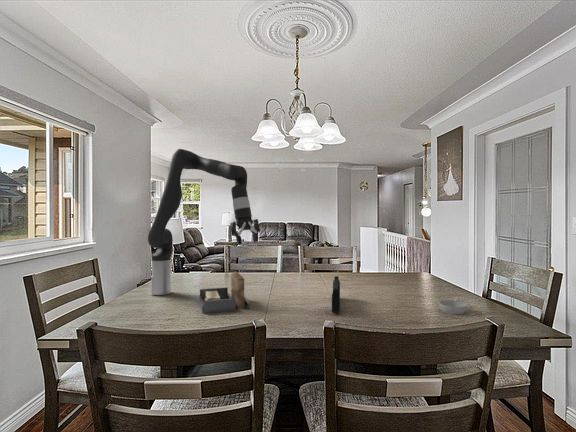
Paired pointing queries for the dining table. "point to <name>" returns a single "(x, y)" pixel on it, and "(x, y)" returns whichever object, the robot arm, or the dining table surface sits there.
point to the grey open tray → (219, 301)
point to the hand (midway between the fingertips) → (247, 243)
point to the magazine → (336, 296)
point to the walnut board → (237, 289)
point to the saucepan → (453, 306)
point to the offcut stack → (212, 295)
